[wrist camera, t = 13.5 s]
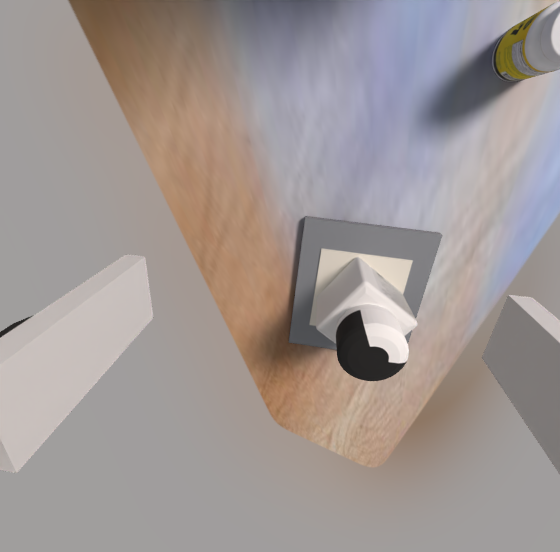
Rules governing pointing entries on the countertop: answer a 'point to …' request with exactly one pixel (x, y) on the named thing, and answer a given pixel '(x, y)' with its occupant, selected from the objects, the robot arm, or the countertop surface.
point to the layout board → (343, 250)
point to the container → (365, 322)
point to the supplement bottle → (529, 47)
